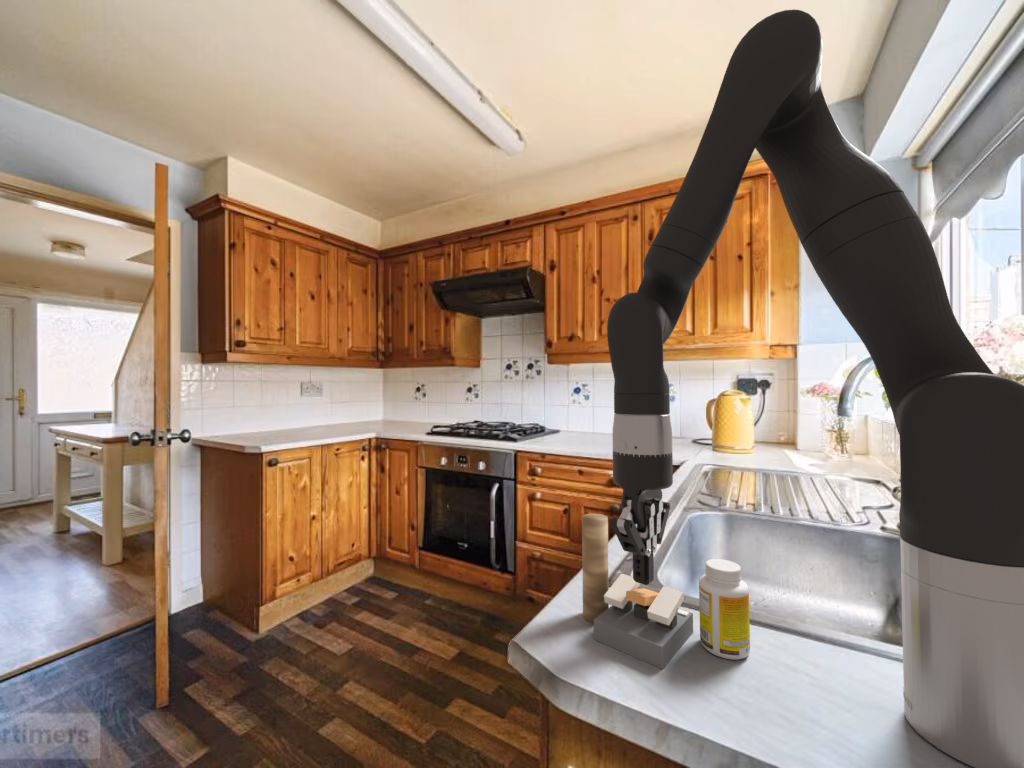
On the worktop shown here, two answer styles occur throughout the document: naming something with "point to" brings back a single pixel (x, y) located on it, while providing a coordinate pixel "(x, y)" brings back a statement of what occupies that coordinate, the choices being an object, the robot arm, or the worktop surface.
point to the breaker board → (643, 633)
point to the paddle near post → (620, 591)
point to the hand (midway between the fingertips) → (643, 581)
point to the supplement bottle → (724, 610)
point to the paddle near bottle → (665, 605)
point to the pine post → (594, 565)
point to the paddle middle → (641, 596)
